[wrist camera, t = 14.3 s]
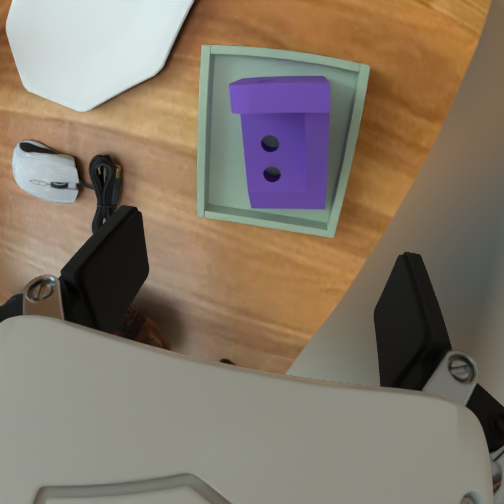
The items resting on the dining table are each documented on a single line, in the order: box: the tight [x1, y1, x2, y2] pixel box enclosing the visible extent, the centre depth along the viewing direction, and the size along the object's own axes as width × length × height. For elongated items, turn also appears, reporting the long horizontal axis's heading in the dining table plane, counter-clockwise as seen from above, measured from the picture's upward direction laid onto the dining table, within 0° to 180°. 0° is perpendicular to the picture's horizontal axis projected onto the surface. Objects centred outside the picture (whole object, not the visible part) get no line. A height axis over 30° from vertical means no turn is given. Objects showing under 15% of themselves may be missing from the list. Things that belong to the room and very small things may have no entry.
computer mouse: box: [12, 140, 121, 234], centre depth 32 cm, size 10×18×4 cm, turn 72°
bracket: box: [229, 76, 331, 209], centre depth 24 cm, size 12×7×7 cm, turn 5°
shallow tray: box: [197, 45, 370, 238], centre depth 27 cm, size 14×17×2 cm
